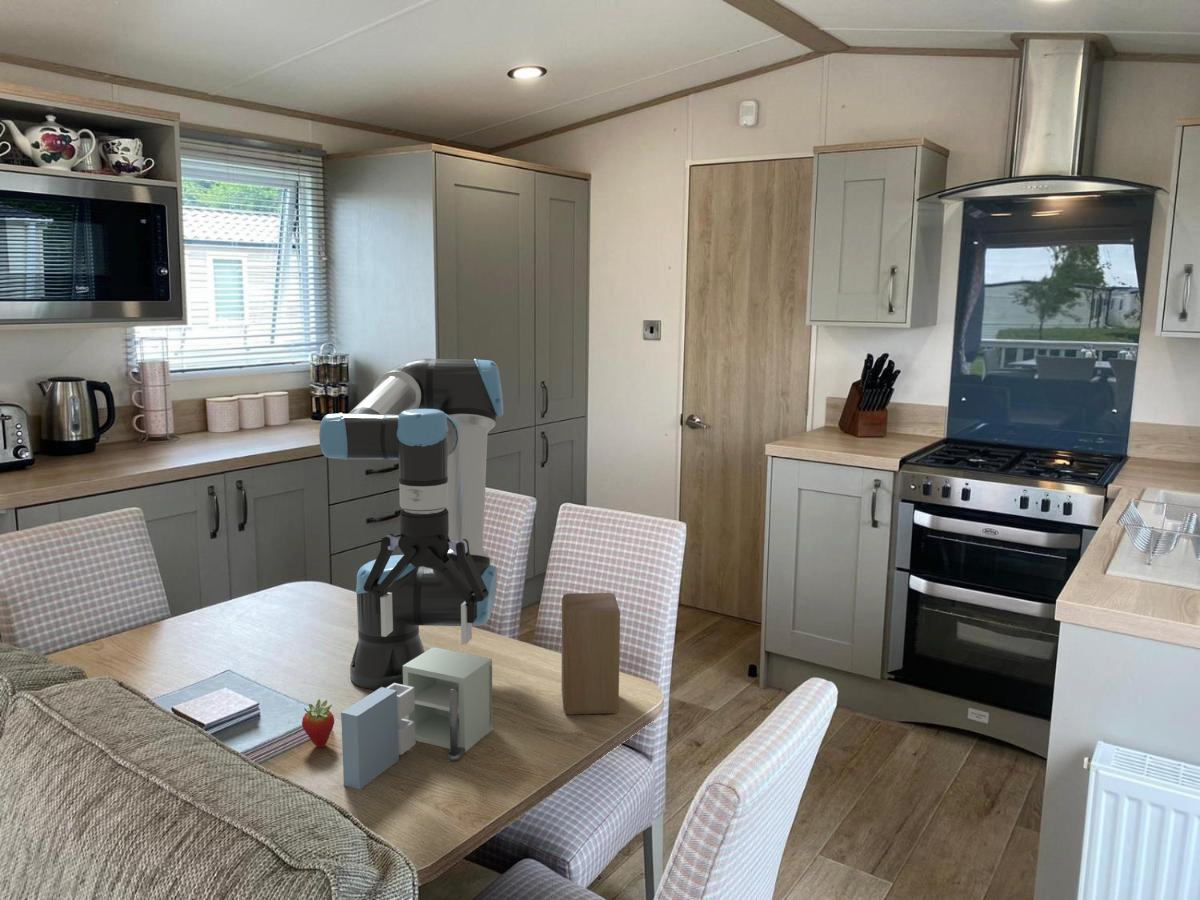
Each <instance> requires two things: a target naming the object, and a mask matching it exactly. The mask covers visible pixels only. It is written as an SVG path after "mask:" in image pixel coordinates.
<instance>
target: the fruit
mask: <svg viewBox="0 0 1200 900" xmlns="http://www.w3.org/2000/svg"><path fill="white" fill-rule="evenodd" d="M327 704H328V700H327V699H326V700H324V701H323V702H322V703H321V699H320V698H318V700H317V701H316V705H315V706H314V705H313V704H312V703H309V704H308V707H309V710H307V708H305V707H303V708H304V711H305V714H304V715H303V717H302V719H301V725H302V728H303V730H304V732H305V733H306V735H307V736H308V738H309V739H310V741H311V742H312V743H313V744H314V745H315V747H317V748H323V747H325V746H326V745H327V743H328V741H329V739H330V734H331V732H332V730H333V728H334V726H335V725H334V724H335V717H334V715H333V713H332V712H331V711H330V709H331V707H332V706H333V704H330V705H328V706H327Z"/></svg>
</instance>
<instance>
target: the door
mask: <svg viewBox="0 0 1200 900" xmlns="http://www.w3.org/2000/svg"><path fill="white" fill-rule="evenodd" d="M414 710H415V699H414V687H411V686H406V685H402V684H397V683H393V684H391V685H390V686H388V687H387V688H384V687H381V688H379V689H378V690H376V689H375V691H373V692H371V693H370V694H369V695H366V696H364V698H361V699H360V700H359V701H357V702H356V703H353V704H352V705H351V706H349V707H347V708H346V709H344V710H343V711H341V713H340V718H341V721H340V722H341V742H342V744H341V745H342V746H341V747H342V773H343V776H342V777H343V786H345V787H349V788H353V789H355V790H356V789H357V790H361V789H363V788H364V787H365V786H366V785H367V784H369V783H370V782H371V781H373V780H375V778H377V777H378V776H379V775H382V773H384V772H385V771H386V770H387V769H389V768H390V767H391V766H393V765H394V764H395V763H397V762H398V761H399V759H400V758H399V757H400V755H401V756H402V755H403V754H404V753H405V752H407V751H408V750H409V749H411V748H412V747H413V746H415V745H416V740H415V721H411V720H407V719H404V717H406V716H407V715H408V714H410V713H411V712H413V711H414Z"/></svg>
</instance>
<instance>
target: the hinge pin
mask: <svg viewBox="0 0 1200 900" xmlns="http://www.w3.org/2000/svg"><path fill="white" fill-rule="evenodd" d="M449 702H450V749H449V751H450V752H448V753H447V760H448V762H451V763H452V762H453V763H456V762H459V761H460V760H461V757H462V756H463V755H465V754H466V752H465V748H462V747H458V734H457V691H456V689H451V690H450V692H449Z"/></svg>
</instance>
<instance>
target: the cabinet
mask: <svg viewBox="0 0 1200 900" xmlns="http://www.w3.org/2000/svg"><path fill="white" fill-rule="evenodd" d="M403 685H406V686H411V687H414V699H415V710H414V711H413V712H411V713H410V714H408V715H407V716H406V717H404V718H403V719H407V720H411V721H415V742H419V743H425V744H428V745H431V746H432V745H433V746H436V747H437V746H438V747H440V748H444V749H445V748H446V749H449V750H450V702H449V692H450V690H451V689H456V691H457V734H458V747H462V748H465V753H466V752H467V751H469V750H470V749H471V748H473V746H475V745H476V744H477V743H478V742H479V741H481V740H482V739H483V738H484V737H486V736H487V735H488V734H489V733H490V732H492V730H493V658H490V657H485V656H480V655H474V654H469V653H464V652H459V651H456V650H449V649H446V648H445V649H444V648H439V647H434V646H433V647H430V648H429V649H427V650H426V651H425V652H424V653H423V654H421V655H419V656H418V657H416V658H414V659H413V660H411V661H409V662H408V663H406V664H405V665H403Z"/></svg>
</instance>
